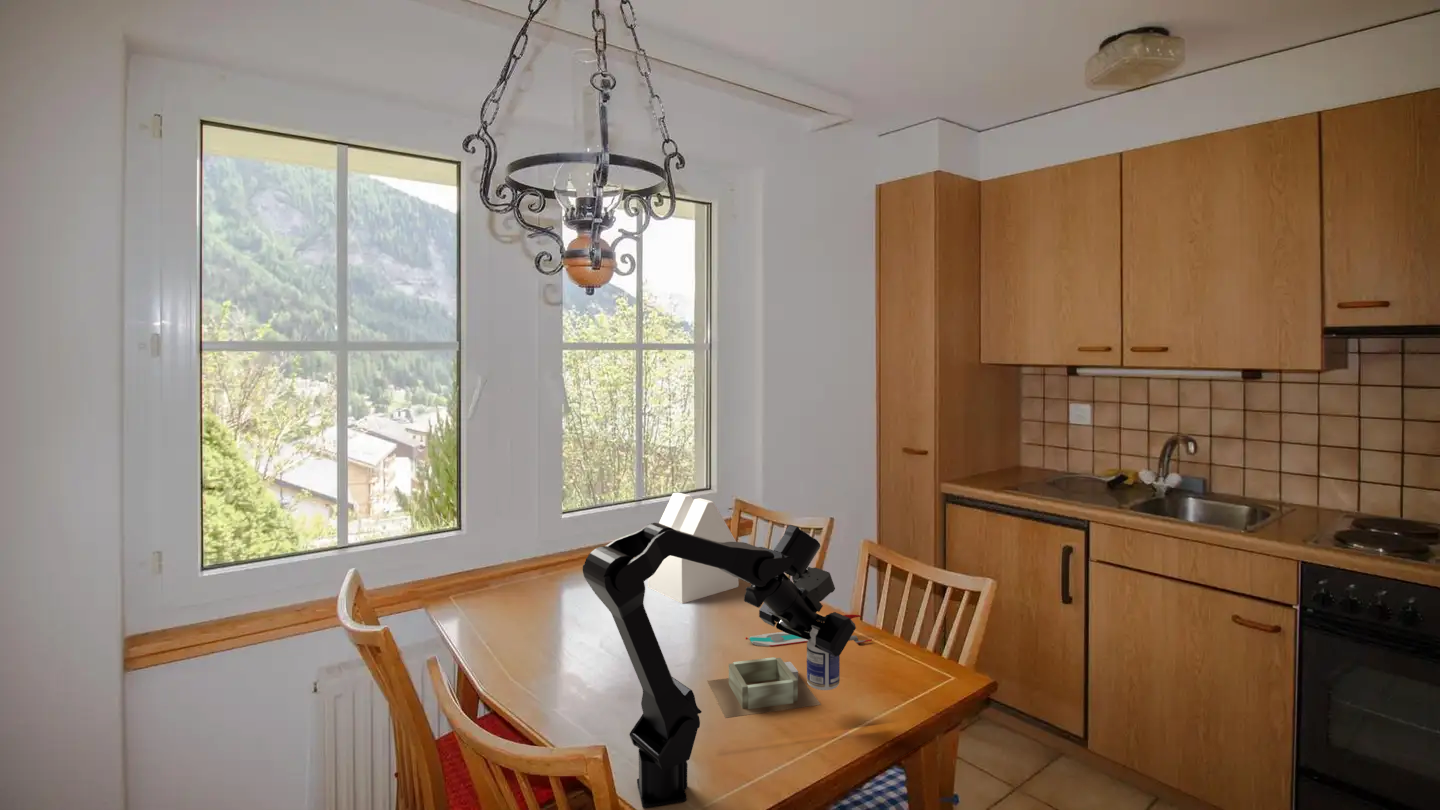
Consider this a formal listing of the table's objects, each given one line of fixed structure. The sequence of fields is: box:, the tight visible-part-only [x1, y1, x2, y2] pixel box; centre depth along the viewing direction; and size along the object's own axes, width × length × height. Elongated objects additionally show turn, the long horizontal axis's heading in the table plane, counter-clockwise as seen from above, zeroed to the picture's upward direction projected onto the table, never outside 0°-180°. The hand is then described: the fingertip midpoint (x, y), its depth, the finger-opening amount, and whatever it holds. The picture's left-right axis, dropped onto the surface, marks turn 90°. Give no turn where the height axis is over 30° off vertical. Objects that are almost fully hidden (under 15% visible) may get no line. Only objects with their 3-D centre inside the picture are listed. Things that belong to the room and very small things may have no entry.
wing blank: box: [783, 661, 799, 680], centre depth 139 cm, size 3×4×2 cm
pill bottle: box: [806, 627, 841, 691], centre depth 124 cm, size 6×6×10 cm
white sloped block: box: [647, 492, 740, 604], centre depth 192 cm, size 19×15×25 cm
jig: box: [706, 656, 822, 719], centre depth 133 cm, size 18×14×5 cm
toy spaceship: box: [745, 614, 873, 648], centre depth 157 cm, size 27×11×5 cm, turn 110°
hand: (828, 645), depth 125 cm, fingers closed on pill bottle, 6 cm apart
